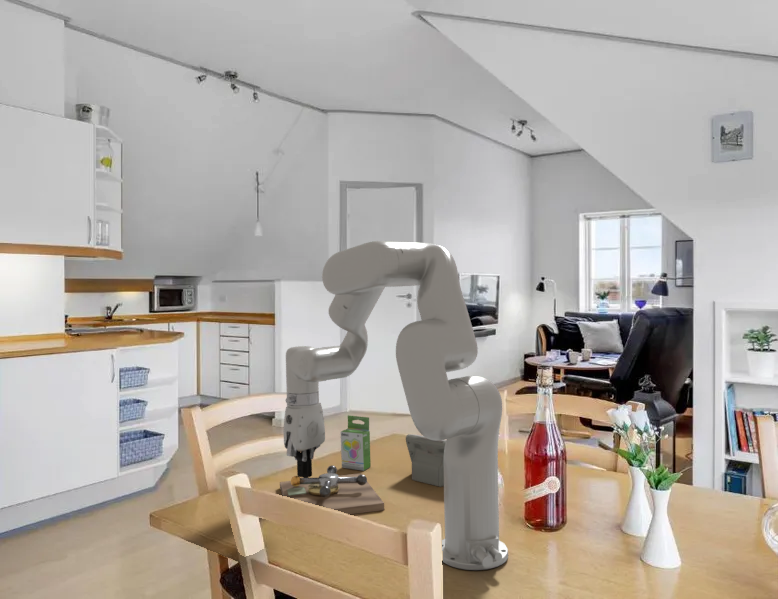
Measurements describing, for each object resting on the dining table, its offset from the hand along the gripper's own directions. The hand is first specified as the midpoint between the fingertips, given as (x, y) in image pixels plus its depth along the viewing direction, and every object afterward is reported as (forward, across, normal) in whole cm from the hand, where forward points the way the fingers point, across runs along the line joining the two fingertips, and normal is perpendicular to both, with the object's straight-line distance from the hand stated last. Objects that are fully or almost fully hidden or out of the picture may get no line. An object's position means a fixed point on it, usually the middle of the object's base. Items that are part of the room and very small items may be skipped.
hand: (304, 476), depth 143 cm
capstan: (+2, -1, -8) cm, 8 cm away
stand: (+4, -1, -8) cm, 9 cm away
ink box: (+4, +21, +1) cm, 21 cm away
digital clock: (+4, +23, -22) cm, 32 cm away
